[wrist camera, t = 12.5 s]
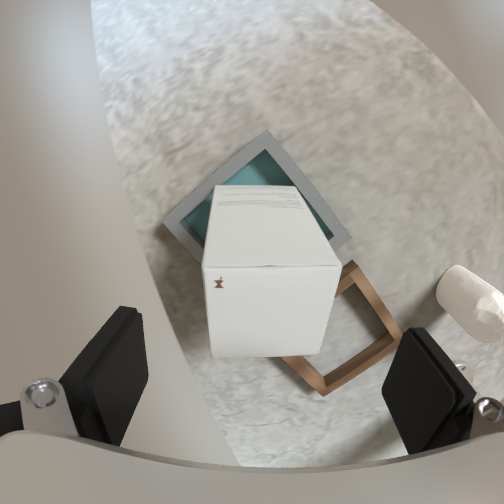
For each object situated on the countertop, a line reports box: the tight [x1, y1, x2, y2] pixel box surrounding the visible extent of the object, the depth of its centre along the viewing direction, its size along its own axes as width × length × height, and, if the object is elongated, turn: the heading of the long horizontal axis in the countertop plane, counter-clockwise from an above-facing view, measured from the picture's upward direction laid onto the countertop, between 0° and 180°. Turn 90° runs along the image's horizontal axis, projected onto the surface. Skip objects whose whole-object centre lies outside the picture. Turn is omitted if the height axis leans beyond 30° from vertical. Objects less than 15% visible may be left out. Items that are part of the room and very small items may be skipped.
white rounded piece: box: [436, 265, 504, 342], centre depth 26 cm, size 6×12×6 cm
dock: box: [161, 130, 351, 265], centre depth 28 cm, size 12×12×2 cm
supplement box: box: [201, 185, 342, 358], centre depth 22 cm, size 7×7×13 cm
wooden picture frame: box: [281, 260, 403, 397], centre depth 32 cm, size 12×12×2 cm
